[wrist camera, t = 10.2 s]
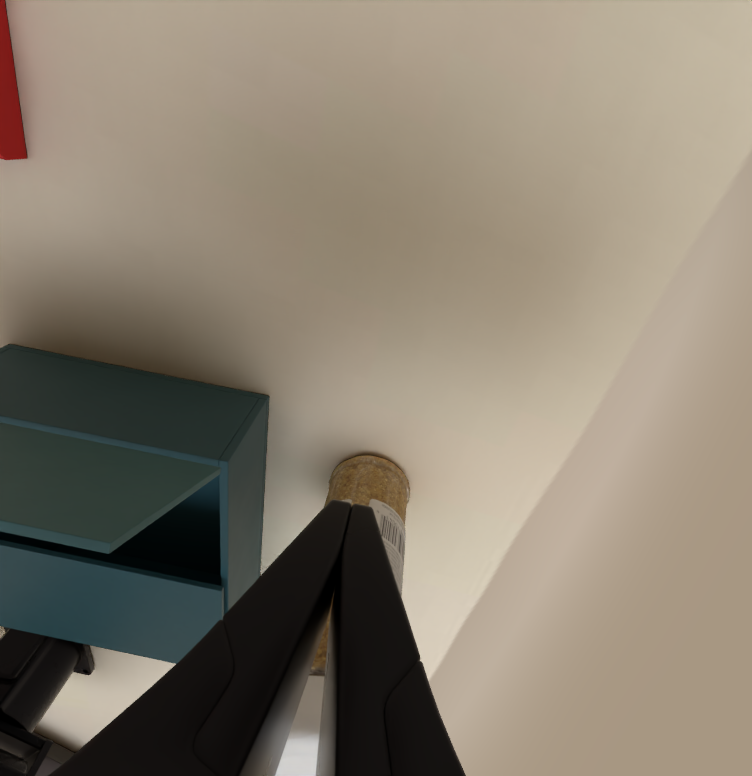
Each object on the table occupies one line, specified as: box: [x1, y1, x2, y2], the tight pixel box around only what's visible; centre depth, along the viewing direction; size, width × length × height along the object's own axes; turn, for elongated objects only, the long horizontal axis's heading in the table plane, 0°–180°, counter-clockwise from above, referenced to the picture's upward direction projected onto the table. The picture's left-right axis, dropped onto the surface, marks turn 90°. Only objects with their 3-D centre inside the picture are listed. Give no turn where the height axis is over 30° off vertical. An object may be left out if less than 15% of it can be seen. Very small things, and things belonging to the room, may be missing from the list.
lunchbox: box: [0, 344, 269, 664], centre depth 25 cm, size 15×14×6 cm
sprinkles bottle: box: [275, 455, 410, 776], centre depth 20 cm, size 5×5×14 cm
